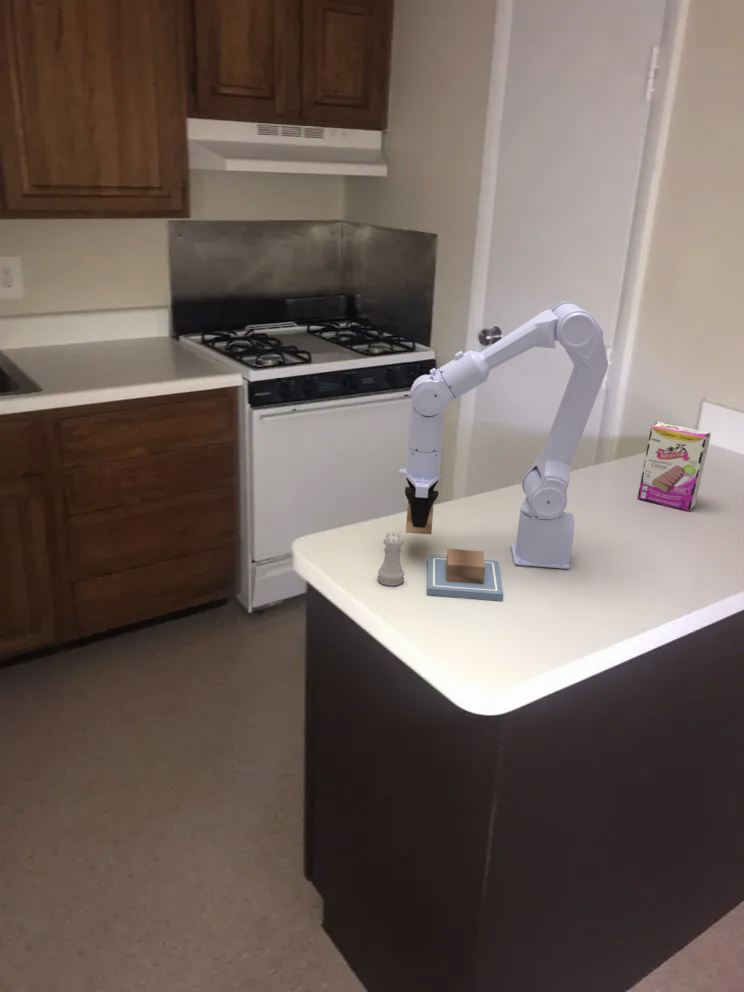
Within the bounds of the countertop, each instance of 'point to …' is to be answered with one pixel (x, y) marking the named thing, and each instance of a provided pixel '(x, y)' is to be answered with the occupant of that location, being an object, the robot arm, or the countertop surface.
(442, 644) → the countertop surface
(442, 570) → the board
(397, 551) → the rook chess piece
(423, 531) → the oak block
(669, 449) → the candy bar box
